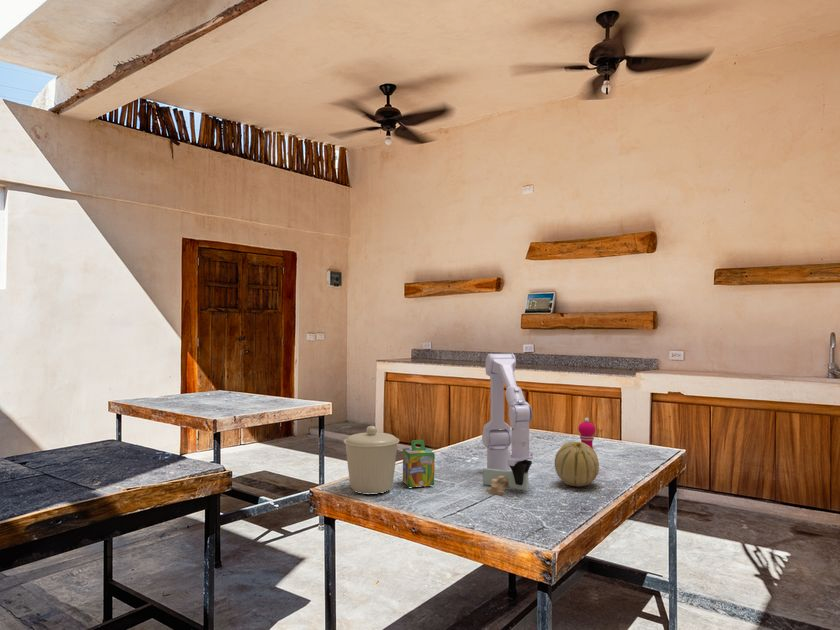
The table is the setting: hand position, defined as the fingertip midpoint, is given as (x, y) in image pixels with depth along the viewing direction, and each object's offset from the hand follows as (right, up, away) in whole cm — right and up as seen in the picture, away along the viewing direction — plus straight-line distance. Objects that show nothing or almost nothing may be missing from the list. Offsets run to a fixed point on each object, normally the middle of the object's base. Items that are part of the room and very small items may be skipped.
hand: (520, 483), depth 186 cm
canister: (-48, -3, 0) cm, 48 cm away
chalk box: (-33, -3, +8) cm, 34 cm away
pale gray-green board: (-4, -2, +3) cm, 6 cm away
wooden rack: (-4, -2, +3) cm, 6 cm away
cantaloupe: (+20, -3, +7) cm, 21 cm away
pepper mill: (+29, -3, +24) cm, 37 cm away
